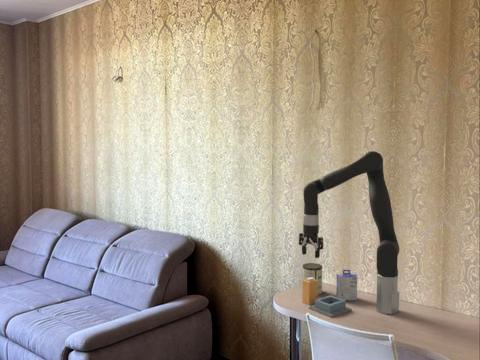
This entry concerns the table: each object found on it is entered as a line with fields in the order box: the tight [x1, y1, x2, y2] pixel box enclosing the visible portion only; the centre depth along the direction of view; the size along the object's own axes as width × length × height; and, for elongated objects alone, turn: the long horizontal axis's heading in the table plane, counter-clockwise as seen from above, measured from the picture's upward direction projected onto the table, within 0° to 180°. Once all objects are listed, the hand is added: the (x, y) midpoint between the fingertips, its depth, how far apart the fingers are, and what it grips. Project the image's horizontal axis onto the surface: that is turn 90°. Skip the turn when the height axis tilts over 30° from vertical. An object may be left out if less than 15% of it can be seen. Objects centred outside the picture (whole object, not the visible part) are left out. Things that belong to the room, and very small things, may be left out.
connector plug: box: [301, 277, 319, 305], centre depth 226 cm, size 4×6×12 cm
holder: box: [308, 294, 352, 318], centre depth 216 cm, size 14×14×4 cm
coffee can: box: [302, 262, 323, 295], centre depth 241 cm, size 10×10×14 cm
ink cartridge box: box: [335, 269, 358, 301], centre depth 231 cm, size 10×6×14 cm, turn 89°
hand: (310, 256), depth 225 cm, fingers open, 8 cm apart
